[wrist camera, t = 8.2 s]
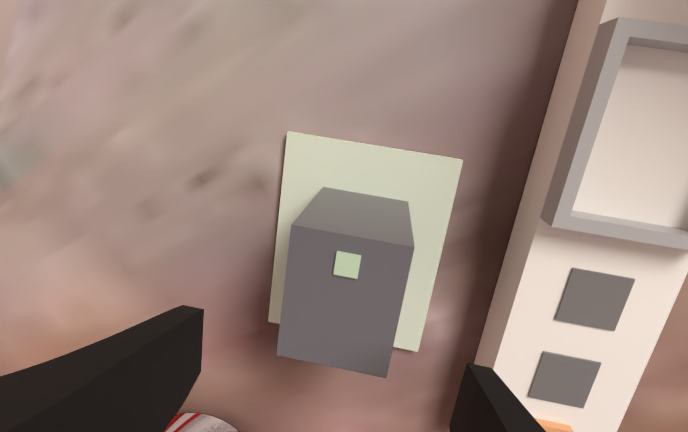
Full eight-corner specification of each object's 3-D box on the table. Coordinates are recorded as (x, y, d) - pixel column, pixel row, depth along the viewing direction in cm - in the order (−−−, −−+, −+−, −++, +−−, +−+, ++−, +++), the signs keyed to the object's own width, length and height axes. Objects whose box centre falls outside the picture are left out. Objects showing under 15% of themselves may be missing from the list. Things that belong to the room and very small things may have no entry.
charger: (388, 297, 19) (386, 380, 14) (310, 282, 20) (275, 356, 14) (408, 201, 18) (414, 248, 12) (323, 186, 18) (290, 225, 12)
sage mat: (417, 347, 20) (418, 351, 20) (270, 317, 21) (268, 321, 21) (461, 159, 18) (463, 160, 17) (289, 131, 18) (287, 131, 18)
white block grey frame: (575, 428, 21) (612, 496, 17) (461, 405, 21) (475, 465, 18) (766, -45, 14) (889, -94, 11) (597, -64, 15) (661, -117, 11)
